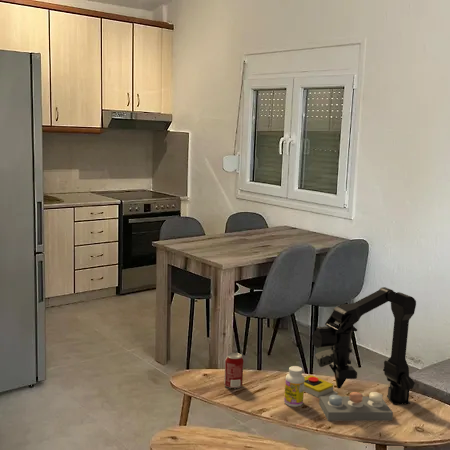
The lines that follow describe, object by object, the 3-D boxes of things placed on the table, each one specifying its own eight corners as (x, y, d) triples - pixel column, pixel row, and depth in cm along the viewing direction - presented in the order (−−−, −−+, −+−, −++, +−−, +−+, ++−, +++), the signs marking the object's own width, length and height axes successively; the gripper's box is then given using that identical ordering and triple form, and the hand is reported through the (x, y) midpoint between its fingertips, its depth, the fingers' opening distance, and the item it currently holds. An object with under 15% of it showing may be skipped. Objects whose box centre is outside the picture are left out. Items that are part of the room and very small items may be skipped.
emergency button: (308, 370, 226) (339, 383, 215) (307, 381, 226) (338, 394, 215) (292, 376, 220) (323, 389, 209) (291, 387, 220) (322, 401, 209)
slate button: (340, 399, 202) (340, 394, 202) (343, 405, 198) (344, 400, 197) (327, 399, 201) (327, 394, 201) (331, 405, 197) (331, 400, 197)
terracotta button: (360, 396, 202) (360, 392, 202) (364, 402, 198) (364, 397, 198) (347, 396, 202) (348, 392, 202) (351, 402, 198) (351, 397, 197)
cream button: (379, 396, 203) (380, 392, 203) (384, 402, 199) (384, 397, 198) (367, 396, 203) (367, 392, 202) (371, 402, 198) (371, 397, 198)
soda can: (242, 390, 214) (243, 359, 213) (224, 389, 214) (225, 358, 213) (242, 382, 221) (243, 352, 219) (224, 381, 221) (225, 351, 219)
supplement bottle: (280, 402, 206) (282, 368, 204) (291, 397, 210) (293, 363, 208) (295, 409, 201) (297, 373, 199) (306, 403, 206) (309, 368, 204)
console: (379, 404, 208) (380, 395, 207) (392, 420, 196) (393, 411, 195) (319, 404, 206) (319, 395, 205) (327, 420, 194) (328, 411, 193)
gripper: (311, 334, 205) (309, 376, 207) (325, 354, 187) (322, 400, 189) (342, 334, 206) (339, 376, 208) (359, 354, 187) (355, 400, 190)
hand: (338, 387), depth 199 cm, fingers closed
